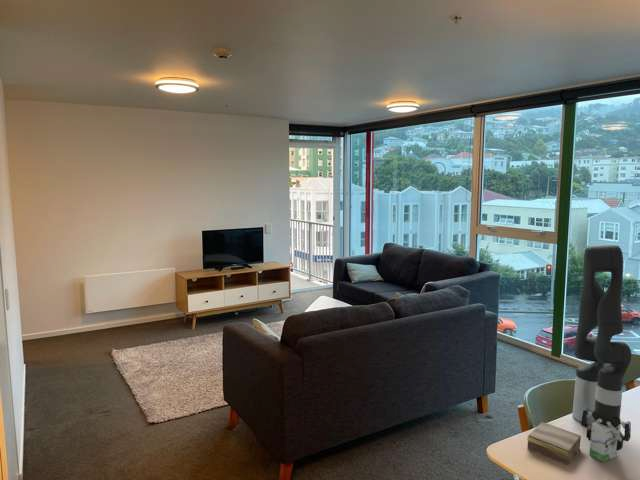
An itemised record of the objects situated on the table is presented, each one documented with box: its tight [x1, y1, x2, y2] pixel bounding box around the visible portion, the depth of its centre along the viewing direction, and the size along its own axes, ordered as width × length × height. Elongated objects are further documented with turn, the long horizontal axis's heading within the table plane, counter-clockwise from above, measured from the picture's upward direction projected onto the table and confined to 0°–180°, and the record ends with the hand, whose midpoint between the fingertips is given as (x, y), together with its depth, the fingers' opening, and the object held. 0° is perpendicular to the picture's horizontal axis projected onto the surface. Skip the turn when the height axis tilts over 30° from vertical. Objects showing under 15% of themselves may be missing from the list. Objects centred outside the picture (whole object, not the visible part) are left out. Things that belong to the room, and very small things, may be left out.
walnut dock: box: [526, 421, 582, 466], centre depth 164 cm, size 14×13×5 cm
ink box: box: [589, 422, 622, 463], centre depth 160 cm, size 8×5×12 cm, turn 116°
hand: (603, 444), depth 160 cm, fingers open, 8 cm apart
